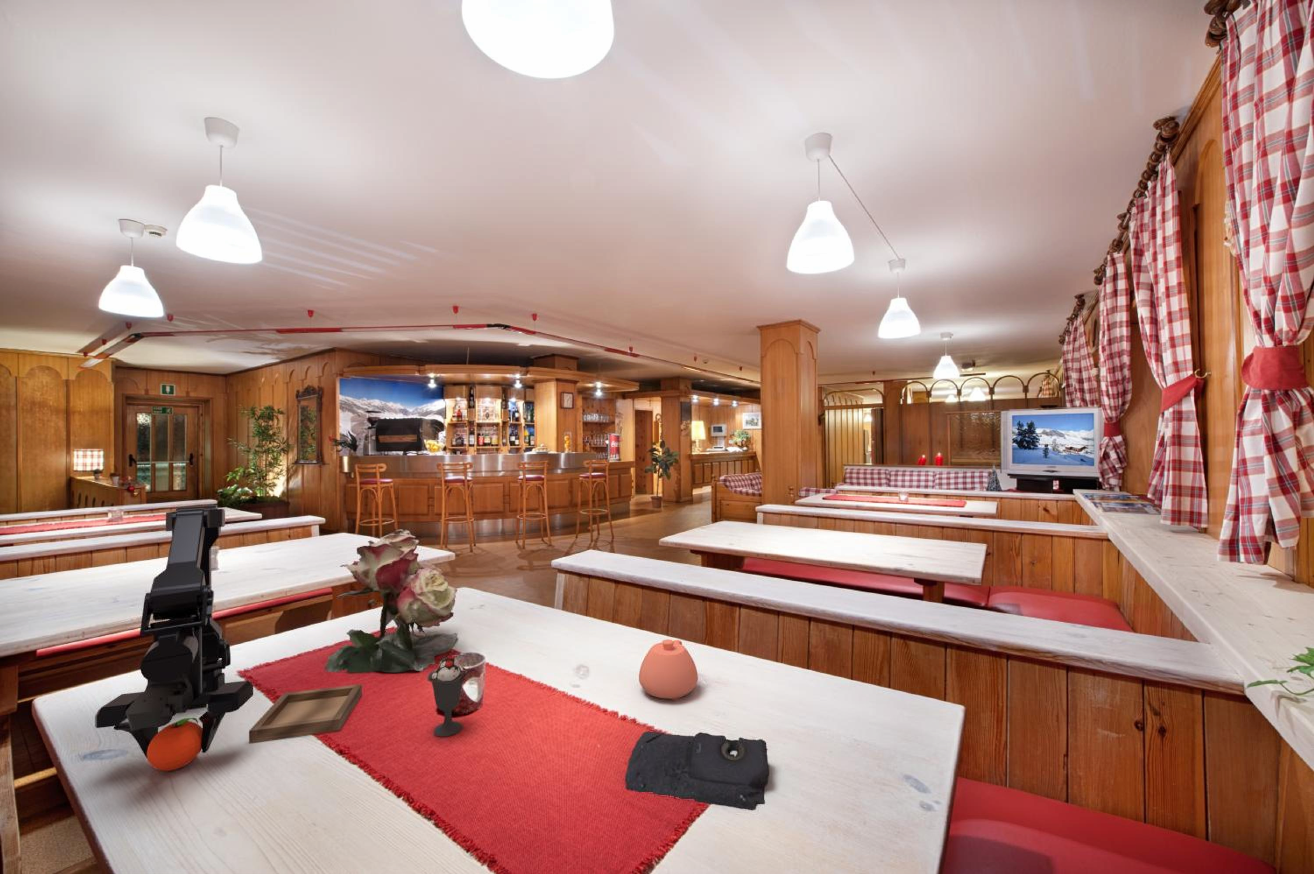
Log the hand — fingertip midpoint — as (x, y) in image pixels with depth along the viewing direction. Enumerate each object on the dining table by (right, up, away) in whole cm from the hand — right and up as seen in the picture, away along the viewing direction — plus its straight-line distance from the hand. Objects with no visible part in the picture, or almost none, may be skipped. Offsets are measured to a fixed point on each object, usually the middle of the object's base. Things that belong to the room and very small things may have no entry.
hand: (178, 755), depth 85 cm
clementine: (0, -2, 0) cm, 2 cm away
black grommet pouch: (+84, -2, -2) cm, 84 cm away
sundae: (+40, -1, +10) cm, 41 cm away
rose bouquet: (+15, -2, +45) cm, 48 cm away
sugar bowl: (+80, -1, +25) cm, 84 cm away
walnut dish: (+12, -2, +15) cm, 19 cm away
